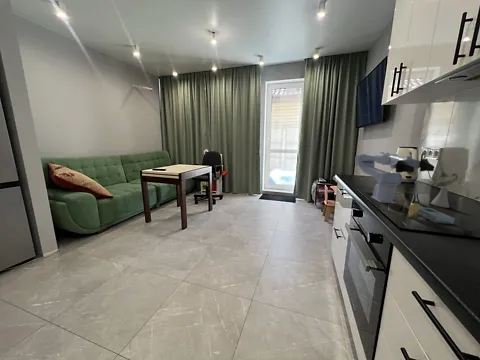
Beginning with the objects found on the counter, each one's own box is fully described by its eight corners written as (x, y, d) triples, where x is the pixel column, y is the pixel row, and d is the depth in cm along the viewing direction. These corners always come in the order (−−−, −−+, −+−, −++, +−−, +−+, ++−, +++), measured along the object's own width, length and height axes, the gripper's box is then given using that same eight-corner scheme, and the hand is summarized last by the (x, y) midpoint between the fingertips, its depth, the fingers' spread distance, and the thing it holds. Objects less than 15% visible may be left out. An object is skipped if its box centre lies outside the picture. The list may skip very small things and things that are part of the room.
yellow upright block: (405, 215, 88) (408, 202, 86) (412, 216, 87) (416, 203, 86) (410, 218, 85) (414, 205, 83) (418, 219, 85) (421, 205, 83)
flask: (433, 206, 103) (438, 187, 101) (428, 202, 110) (433, 184, 107) (451, 209, 100) (458, 190, 98) (445, 205, 107) (451, 187, 104)
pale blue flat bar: (407, 208, 98) (408, 203, 97) (422, 209, 97) (423, 204, 97) (434, 222, 82) (436, 216, 82) (453, 223, 82) (454, 218, 81)
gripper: (385, 155, 96) (405, 160, 83) (419, 153, 94) (444, 158, 81) (384, 169, 98) (402, 177, 85) (416, 168, 96) (440, 175, 83)
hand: (422, 169), depth 83 cm, fingers open, 7 cm apart
